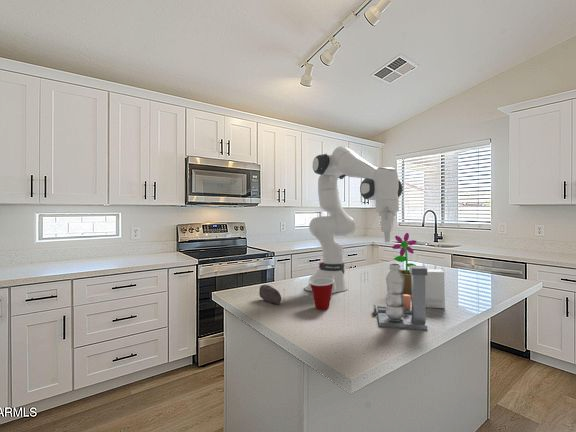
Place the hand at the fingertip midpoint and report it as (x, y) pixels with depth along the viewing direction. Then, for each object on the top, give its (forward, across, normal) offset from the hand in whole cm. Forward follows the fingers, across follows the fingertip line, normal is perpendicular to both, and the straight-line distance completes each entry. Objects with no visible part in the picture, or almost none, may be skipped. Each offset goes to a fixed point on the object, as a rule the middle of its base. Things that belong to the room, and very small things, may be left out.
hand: (387, 242), depth 122 cm
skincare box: (+29, +17, -18) cm, 39 cm away
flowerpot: (+29, +37, -8) cm, 48 cm away
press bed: (+29, -8, -5) cm, 31 cm away
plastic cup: (+29, 0, +27) cm, 40 cm away
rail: (+29, 0, -4) cm, 29 cm away
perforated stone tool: (+29, +1, +52) cm, 59 cm away
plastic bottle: (+28, -9, -3) cm, 29 cm away
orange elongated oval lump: (+28, +1, -7) cm, 29 cm away
